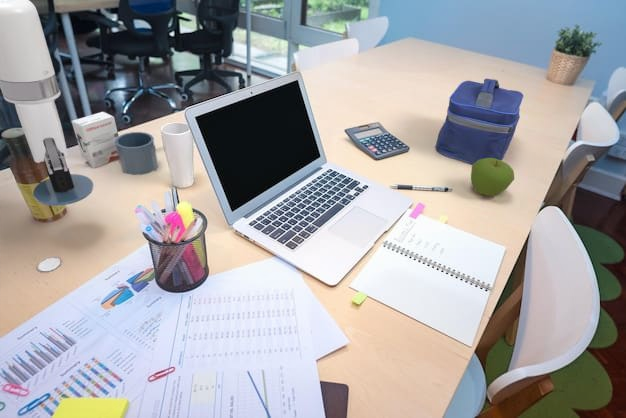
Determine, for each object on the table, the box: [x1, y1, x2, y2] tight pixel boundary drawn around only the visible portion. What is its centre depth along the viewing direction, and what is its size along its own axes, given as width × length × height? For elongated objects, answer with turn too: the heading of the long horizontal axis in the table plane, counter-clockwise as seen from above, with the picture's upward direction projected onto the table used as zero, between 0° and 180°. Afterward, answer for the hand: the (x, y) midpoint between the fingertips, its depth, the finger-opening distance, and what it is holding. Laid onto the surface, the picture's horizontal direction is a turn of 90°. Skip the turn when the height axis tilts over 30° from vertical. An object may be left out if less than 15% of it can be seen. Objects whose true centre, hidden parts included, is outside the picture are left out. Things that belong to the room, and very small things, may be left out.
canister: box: [115, 131, 159, 176], centre depth 99 cm, size 9×9×8 cm
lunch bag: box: [434, 78, 524, 165], centre depth 125 cm, size 31×21×20 cm
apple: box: [470, 158, 515, 197], centre depth 104 cm, size 11×10×10 cm
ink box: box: [71, 111, 120, 169], centre depth 100 cm, size 9×5×12 cm, turn 144°
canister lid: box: [33, 158, 95, 206], centre depth 71 cm, size 10×10×7 cm
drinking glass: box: [160, 121, 195, 189], centre depth 93 cm, size 7×7×15 cm
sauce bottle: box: [1, 127, 68, 223], centre depth 78 cm, size 6×6×20 cm
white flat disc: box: [36, 256, 63, 274], centre depth 72 cm, size 4×4×1 cm
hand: (62, 183), depth 72 cm, fingers closed on canister lid, 3 cm apart
